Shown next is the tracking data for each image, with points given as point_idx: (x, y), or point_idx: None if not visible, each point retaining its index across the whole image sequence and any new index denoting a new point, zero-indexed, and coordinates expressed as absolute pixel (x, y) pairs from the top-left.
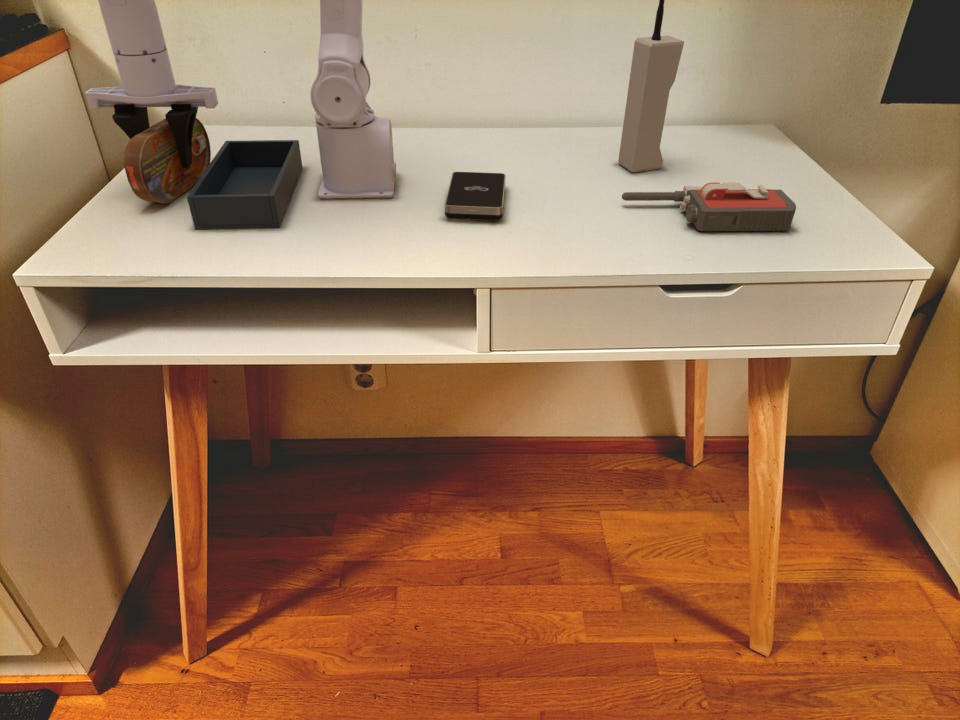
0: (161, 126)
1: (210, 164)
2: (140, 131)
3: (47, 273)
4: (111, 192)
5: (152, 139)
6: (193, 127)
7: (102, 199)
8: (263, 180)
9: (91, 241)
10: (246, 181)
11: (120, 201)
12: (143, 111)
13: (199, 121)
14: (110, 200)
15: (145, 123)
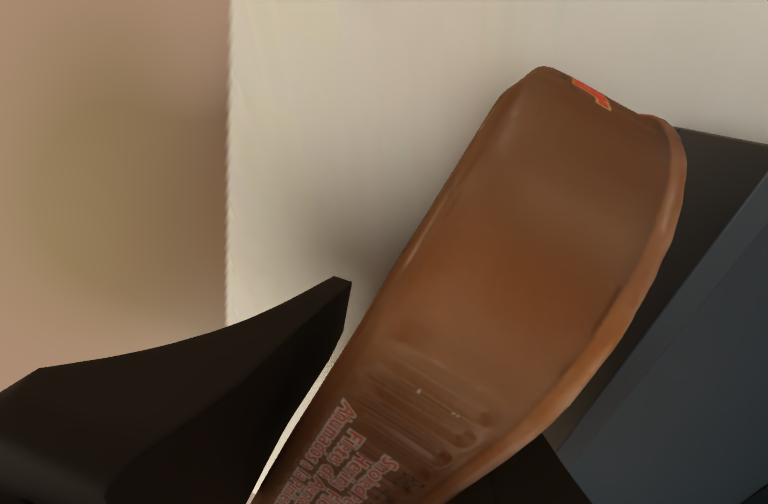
0: (351, 496)
1: (563, 453)
2: (252, 477)
3: (255, 492)
4: (238, 228)
5: None
6: (566, 473)
7: (232, 269)
8: (759, 349)
9: (280, 442)
10: (680, 332)
11: (279, 297)
12: (181, 491)
13: (672, 216)
14: (253, 282)
15: (243, 429)
